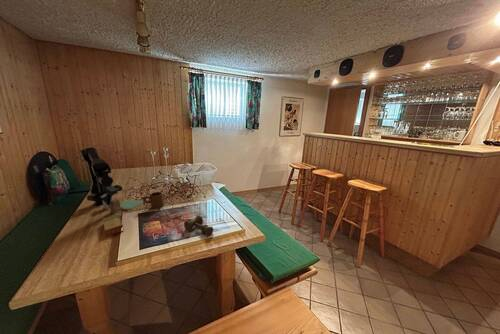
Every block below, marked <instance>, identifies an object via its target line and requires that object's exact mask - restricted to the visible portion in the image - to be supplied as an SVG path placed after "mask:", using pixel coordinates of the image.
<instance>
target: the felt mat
mask: <svg viewBox="0 0 500 334" xmlns="http://www.w3.org/2000/svg"><path fill="white" fill-rule="evenodd" d="M143 203H144V204H145V202H144V201H143V200H138V199H137V200H136V199H133V198H132V199H130V198H129V199H127V200H125V201H123V202H120V207H121V208H127V209H128V210H132V209H134V208H136V207H137V206H139V205H142V204H143Z"/></svg>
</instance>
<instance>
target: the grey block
mask: <svg viewBox="0 0 500 334" xmlns="http://www.w3.org/2000/svg"><path fill="white" fill-rule="evenodd" d="M111 200H113V196H112V197H111ZM102 201H103V200H102ZM102 206H103V208H104V209H106V210H110V206H109V205H107V204H106V203H105V202H104V201H103V204H102Z"/></svg>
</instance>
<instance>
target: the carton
mask: <svg viewBox="0 0 500 334" xmlns="http://www.w3.org/2000/svg"><path fill="white" fill-rule="evenodd" d="M102 222H103V223H102V224H103V228H104V233H105V237H110V236H113V235H115V234H119V233H121V232H120V231H121V228H122V227H123V228H124V224H123V223H122V219H121V216H120V214H119V213H118V214H114V215H110V216H107V217H104V218H102Z"/></svg>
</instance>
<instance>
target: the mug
mask: <svg viewBox="0 0 500 334" xmlns="http://www.w3.org/2000/svg"><path fill="white" fill-rule="evenodd" d="M147 199H149V200H147ZM163 199H164V198H163V194H162V192H160V191H156V192H151V193H150V194H149V195H146V196H144V197H143V198H142V201H144V204H150V207H151V208H152V209H154V208H157V209H161V208H163V206H164V200H163ZM160 207H161V208H160Z"/></svg>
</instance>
